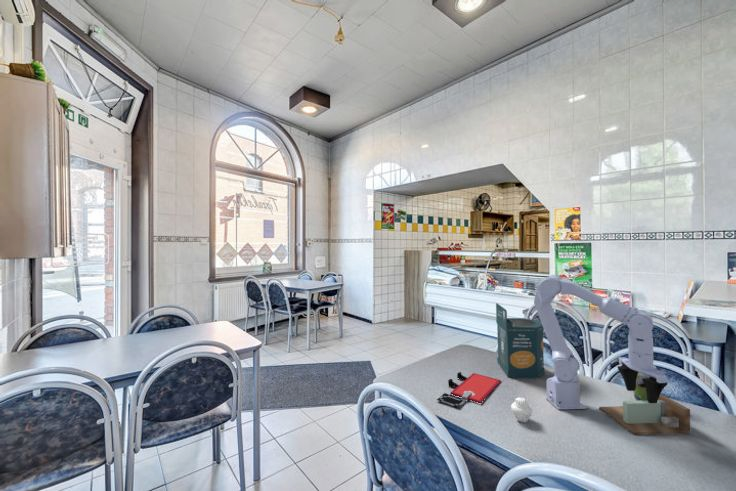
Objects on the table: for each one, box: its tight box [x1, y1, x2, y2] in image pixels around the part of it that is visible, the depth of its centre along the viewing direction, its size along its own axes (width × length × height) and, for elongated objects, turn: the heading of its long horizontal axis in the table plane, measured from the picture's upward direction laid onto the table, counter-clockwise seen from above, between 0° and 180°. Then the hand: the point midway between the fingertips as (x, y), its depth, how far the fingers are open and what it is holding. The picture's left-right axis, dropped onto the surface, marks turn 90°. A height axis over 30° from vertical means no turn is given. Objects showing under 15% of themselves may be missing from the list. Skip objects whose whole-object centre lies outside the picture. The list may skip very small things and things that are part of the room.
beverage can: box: [632, 372, 649, 401], centre depth 109 cm, size 6×7×12 cm
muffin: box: [510, 397, 533, 423], centre depth 100 cm, size 6×6×7 cm
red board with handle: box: [436, 371, 502, 408], centre depth 121 cm, size 30×3×15 cm
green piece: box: [622, 400, 666, 424], centre depth 96 cm, size 12×2×6 cm, turn 89°
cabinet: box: [598, 393, 691, 436], centre depth 98 cm, size 16×14×7 cm
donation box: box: [495, 303, 546, 379], centre depth 138 cm, size 16×16×28 cm
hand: (641, 396), depth 96 cm, fingers open, 7 cm apart
